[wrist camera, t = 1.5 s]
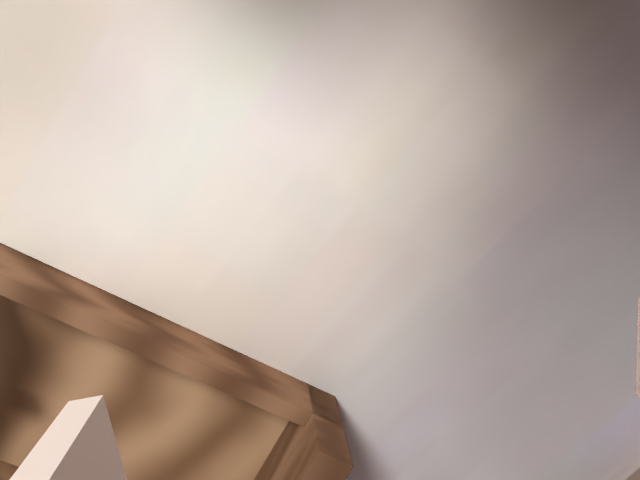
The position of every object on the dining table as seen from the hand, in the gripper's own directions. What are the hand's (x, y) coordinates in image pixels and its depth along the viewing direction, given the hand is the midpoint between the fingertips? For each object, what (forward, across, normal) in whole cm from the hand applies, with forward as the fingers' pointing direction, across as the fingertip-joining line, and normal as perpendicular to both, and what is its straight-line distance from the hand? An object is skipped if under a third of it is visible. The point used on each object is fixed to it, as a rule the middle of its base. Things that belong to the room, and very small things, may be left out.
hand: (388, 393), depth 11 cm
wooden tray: (+23, -17, -12) cm, 31 cm away
